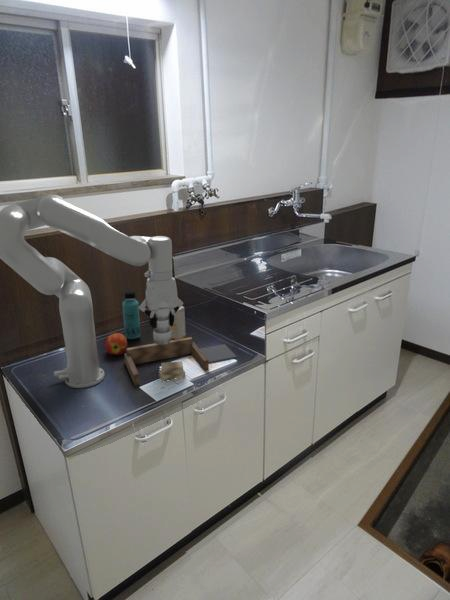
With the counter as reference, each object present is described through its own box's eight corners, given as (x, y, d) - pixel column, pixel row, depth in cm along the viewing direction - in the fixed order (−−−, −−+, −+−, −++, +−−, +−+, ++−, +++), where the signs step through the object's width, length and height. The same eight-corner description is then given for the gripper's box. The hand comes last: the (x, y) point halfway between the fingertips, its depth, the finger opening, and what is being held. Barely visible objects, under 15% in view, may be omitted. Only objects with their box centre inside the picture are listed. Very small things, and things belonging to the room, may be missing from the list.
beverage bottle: (123, 336, 171) (119, 290, 164) (140, 334, 173) (137, 288, 166) (125, 343, 165) (121, 295, 158) (142, 341, 167) (139, 293, 160)
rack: (134, 385, 136) (133, 369, 134) (125, 363, 150) (123, 348, 148) (208, 370, 146) (208, 354, 144) (193, 350, 160) (192, 336, 158)
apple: (105, 359, 153) (103, 339, 150) (106, 349, 160) (105, 330, 158) (128, 357, 154) (126, 337, 151) (128, 347, 162) (126, 328, 159)
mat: (208, 363, 150) (208, 362, 150) (197, 350, 160) (197, 349, 160) (236, 357, 154) (236, 356, 154) (224, 345, 164) (224, 344, 164)
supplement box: (186, 336, 171) (185, 306, 167) (178, 341, 168) (177, 310, 163) (170, 332, 175) (169, 302, 171) (162, 336, 172) (161, 306, 167)
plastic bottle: (173, 339, 148) (173, 285, 142) (169, 347, 142) (168, 291, 135) (155, 338, 149) (154, 284, 142) (150, 346, 143) (148, 290, 136)
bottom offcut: (162, 383, 139) (161, 376, 138) (159, 377, 142) (158, 370, 141) (185, 378, 142) (185, 371, 141) (182, 372, 145) (181, 366, 144)
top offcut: (161, 375, 138) (161, 368, 138) (161, 369, 142) (161, 362, 141) (183, 373, 140) (183, 367, 139) (182, 367, 143) (182, 361, 142)
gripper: (136, 280, 131) (139, 334, 137) (189, 275, 137) (189, 326, 143) (131, 274, 137) (134, 325, 143) (182, 269, 144) (182, 318, 150)
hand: (162, 325), depth 143 cm, fingers closed on plastic bottle, 5 cm apart
